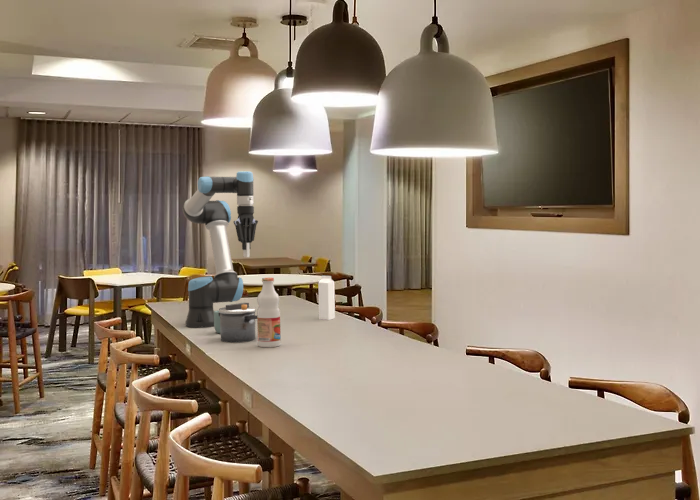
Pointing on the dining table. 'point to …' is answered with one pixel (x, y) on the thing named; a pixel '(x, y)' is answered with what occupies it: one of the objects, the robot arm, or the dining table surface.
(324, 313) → the milk
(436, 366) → the dining table surface
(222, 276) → the robot arm
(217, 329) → the cup
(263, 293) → the fruit juice
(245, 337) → the cooker pot
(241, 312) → the lid
